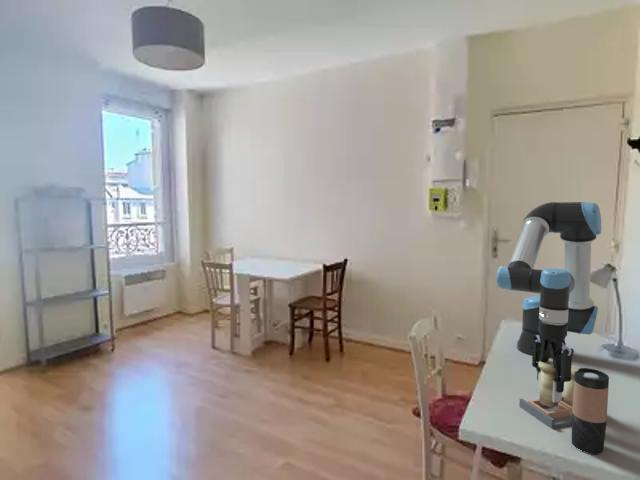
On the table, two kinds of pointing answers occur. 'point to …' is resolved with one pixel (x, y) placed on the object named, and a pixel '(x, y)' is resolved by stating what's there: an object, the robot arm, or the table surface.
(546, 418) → the housing
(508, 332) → the table surface
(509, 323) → the table surface
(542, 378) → the cream pawn-shaped knob
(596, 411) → the travel mug
